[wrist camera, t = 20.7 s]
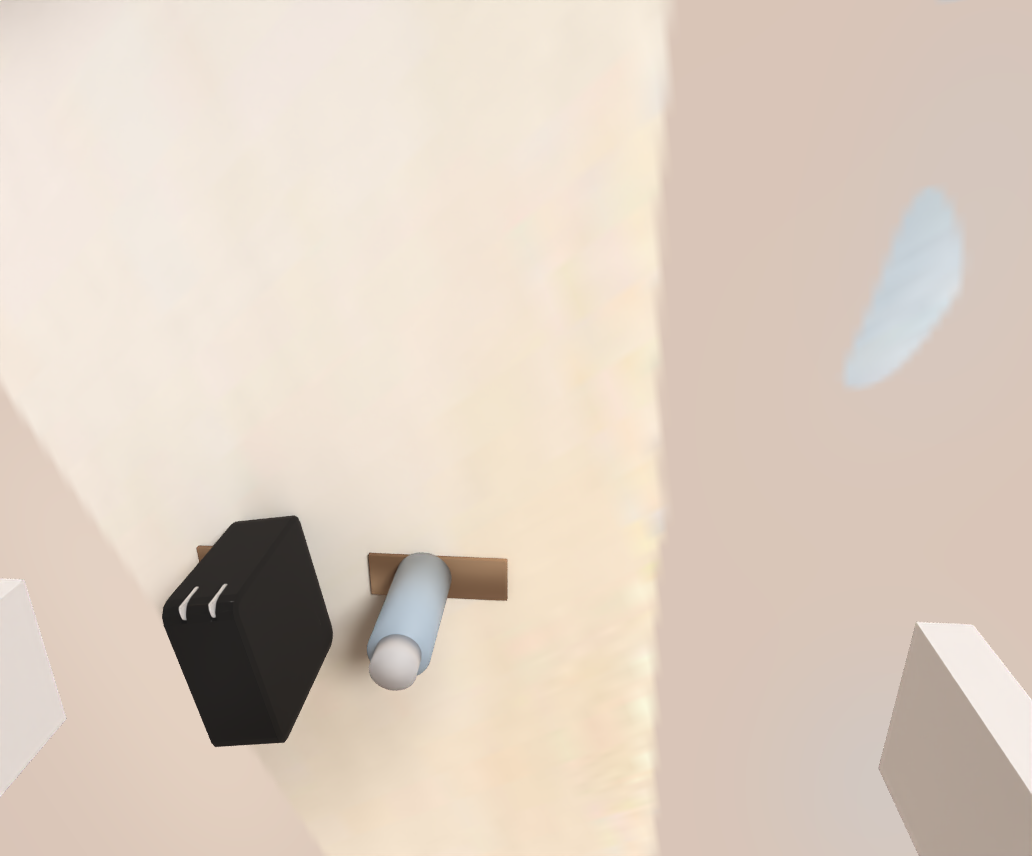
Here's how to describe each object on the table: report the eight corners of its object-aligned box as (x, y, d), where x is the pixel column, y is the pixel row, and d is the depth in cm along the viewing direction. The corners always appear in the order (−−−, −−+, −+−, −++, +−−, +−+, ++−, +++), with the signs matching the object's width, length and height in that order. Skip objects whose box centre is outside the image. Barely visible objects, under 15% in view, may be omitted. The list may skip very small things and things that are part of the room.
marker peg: (395, 551, 48) (357, 642, 39) (451, 554, 47) (424, 646, 39) (398, 597, 49) (362, 695, 41) (452, 600, 49) (426, 699, 41)
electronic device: (279, 641, 52) (214, 754, 43) (236, 516, 48) (156, 611, 39) (336, 636, 51) (283, 750, 42) (298, 510, 47) (230, 604, 38)
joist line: (198, 545, 49) (196, 547, 49) (507, 558, 48) (507, 561, 47) (206, 583, 50) (204, 586, 50) (507, 597, 49) (506, 600, 49)
